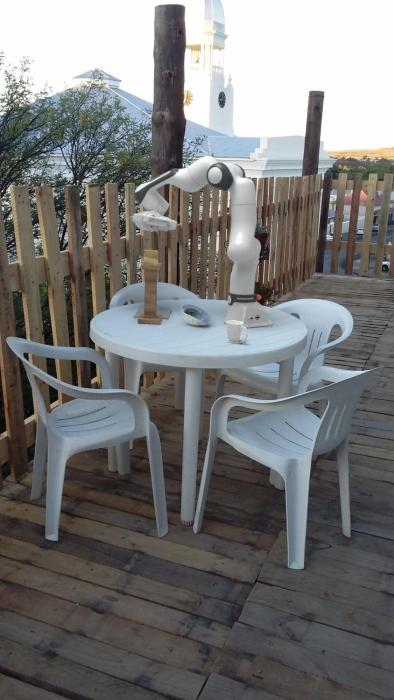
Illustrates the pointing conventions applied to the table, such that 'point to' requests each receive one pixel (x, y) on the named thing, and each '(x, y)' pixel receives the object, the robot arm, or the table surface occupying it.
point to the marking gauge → (151, 257)
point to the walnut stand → (150, 296)
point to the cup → (235, 331)
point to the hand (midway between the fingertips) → (159, 221)
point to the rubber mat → (159, 311)
